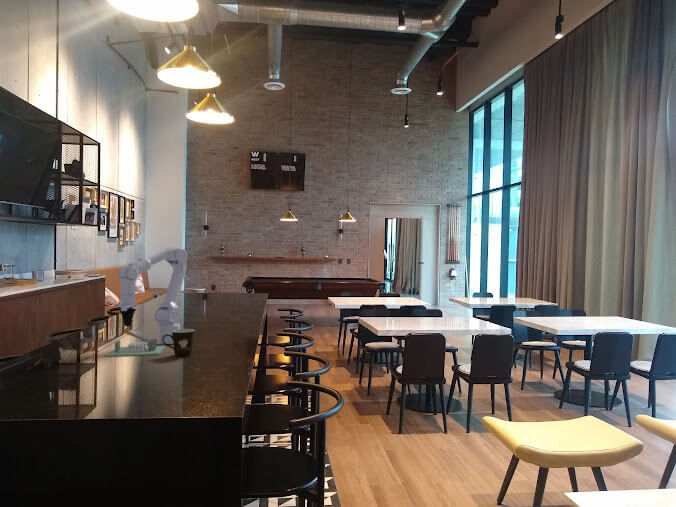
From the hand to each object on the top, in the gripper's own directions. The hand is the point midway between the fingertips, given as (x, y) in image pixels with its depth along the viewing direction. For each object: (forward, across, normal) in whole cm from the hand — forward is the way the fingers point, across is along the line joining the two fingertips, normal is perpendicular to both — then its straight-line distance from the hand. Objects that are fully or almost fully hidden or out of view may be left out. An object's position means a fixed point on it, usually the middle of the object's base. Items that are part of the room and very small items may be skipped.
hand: (127, 326), depth 201 cm
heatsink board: (+10, +4, +5) cm, 12 cm away
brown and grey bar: (+5, +4, +5) cm, 8 cm away
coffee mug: (+10, +12, +23) cm, 28 cm away
